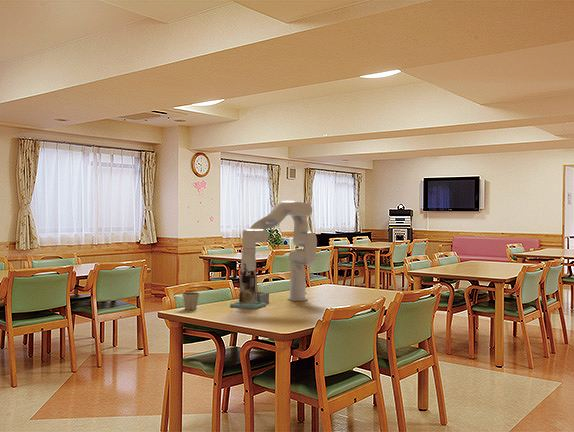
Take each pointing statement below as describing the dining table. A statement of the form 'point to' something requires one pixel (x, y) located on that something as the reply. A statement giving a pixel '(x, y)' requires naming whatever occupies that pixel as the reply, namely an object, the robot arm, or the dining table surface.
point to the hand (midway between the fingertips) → (248, 281)
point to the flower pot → (190, 300)
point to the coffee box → (248, 290)
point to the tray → (238, 305)
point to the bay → (261, 297)
